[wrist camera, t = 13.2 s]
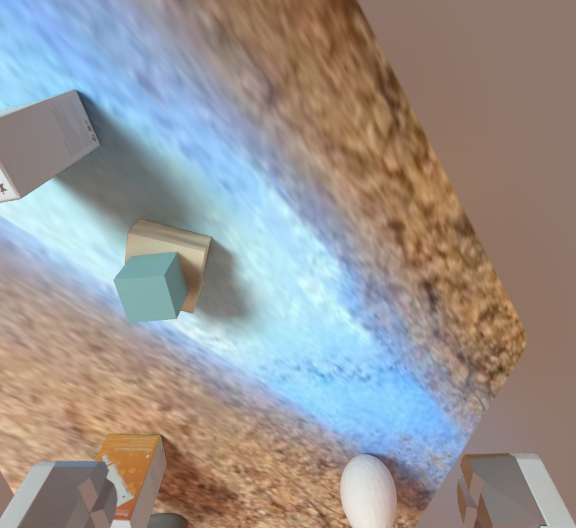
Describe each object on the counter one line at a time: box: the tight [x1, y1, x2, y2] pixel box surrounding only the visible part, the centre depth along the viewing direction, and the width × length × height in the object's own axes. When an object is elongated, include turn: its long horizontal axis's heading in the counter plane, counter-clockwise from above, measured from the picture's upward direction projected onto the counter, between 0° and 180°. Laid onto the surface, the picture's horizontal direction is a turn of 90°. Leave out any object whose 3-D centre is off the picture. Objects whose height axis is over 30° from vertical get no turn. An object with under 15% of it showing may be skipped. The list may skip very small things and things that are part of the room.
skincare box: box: [0, 89, 100, 203], centre depth 39 cm, size 8×6×15 cm
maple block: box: [125, 219, 211, 313], centre depth 51 cm, size 8×8×4 cm
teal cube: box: [114, 251, 188, 323], centre depth 47 cm, size 5×5×5 cm
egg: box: [340, 454, 397, 528], centre depth 62 cm, size 7×7×12 cm
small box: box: [95, 434, 167, 528], centre depth 62 cm, size 8×6×13 cm
